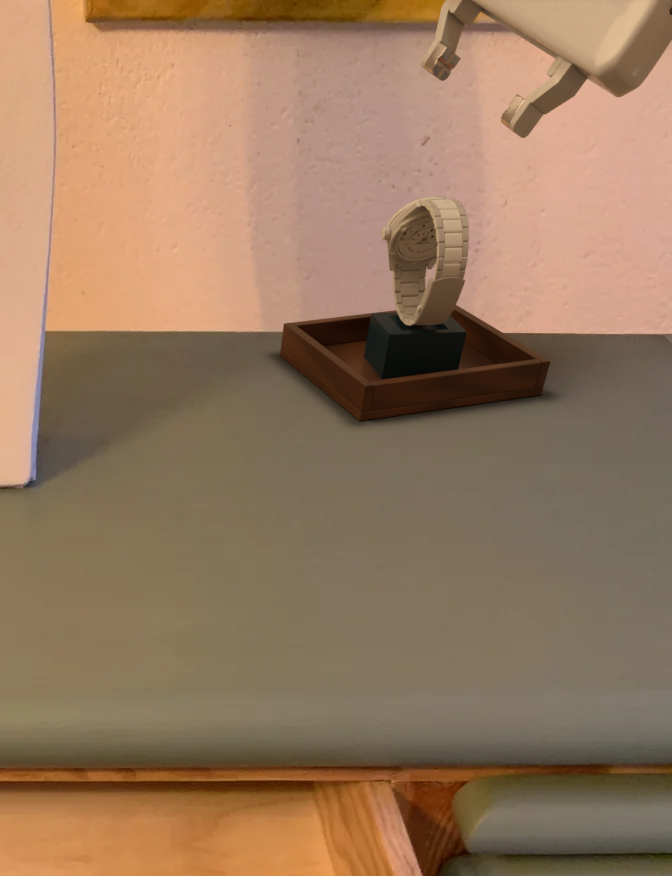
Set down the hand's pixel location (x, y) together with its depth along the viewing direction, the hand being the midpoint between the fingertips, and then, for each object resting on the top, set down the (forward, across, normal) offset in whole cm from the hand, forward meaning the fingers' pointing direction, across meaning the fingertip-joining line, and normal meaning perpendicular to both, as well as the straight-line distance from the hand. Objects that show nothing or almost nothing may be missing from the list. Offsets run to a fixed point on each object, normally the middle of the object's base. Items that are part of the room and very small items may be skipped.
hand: (470, 101), depth 80 cm
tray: (+16, -10, -1) cm, 18 cm away
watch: (+15, -10, -1) cm, 18 cm away
